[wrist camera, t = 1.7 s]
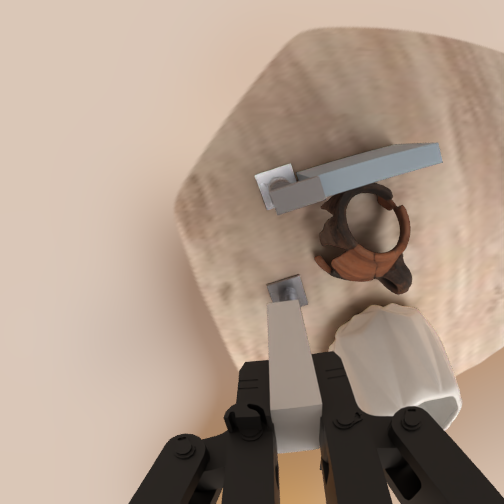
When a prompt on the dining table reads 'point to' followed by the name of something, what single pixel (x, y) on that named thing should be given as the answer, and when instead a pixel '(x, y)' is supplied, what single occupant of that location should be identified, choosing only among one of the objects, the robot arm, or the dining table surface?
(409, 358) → the vase
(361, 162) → the gate
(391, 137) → the dining table surface
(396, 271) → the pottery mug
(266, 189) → the hinge post
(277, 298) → the post
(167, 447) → the robot arm
